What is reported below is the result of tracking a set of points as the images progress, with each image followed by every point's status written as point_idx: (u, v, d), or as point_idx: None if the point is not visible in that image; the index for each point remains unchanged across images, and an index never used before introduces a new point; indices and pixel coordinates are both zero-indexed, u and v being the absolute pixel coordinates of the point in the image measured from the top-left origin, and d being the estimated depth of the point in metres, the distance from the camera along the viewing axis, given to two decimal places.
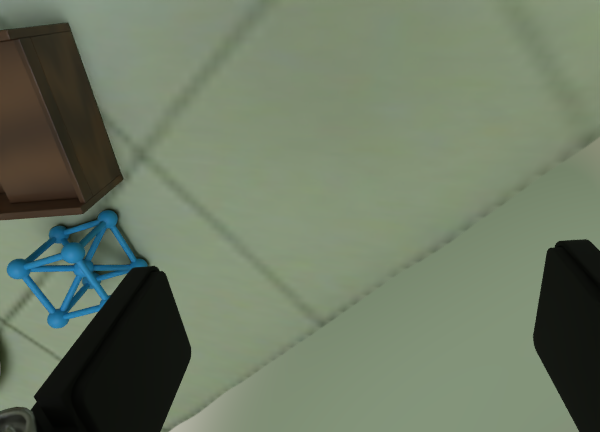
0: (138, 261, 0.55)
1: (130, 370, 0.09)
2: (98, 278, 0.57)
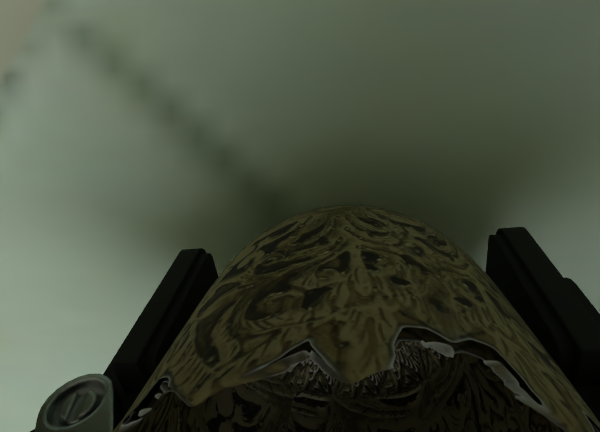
0: None
1: None
2: None
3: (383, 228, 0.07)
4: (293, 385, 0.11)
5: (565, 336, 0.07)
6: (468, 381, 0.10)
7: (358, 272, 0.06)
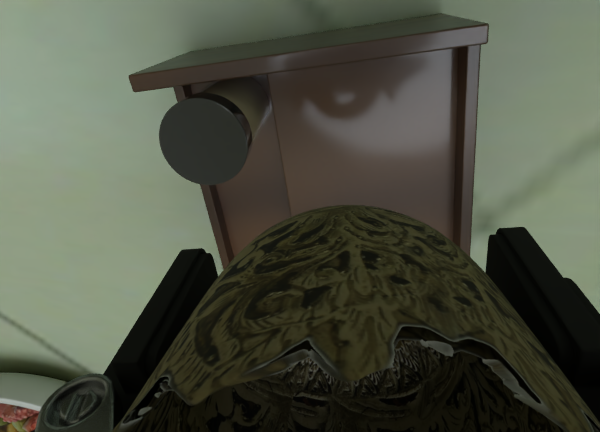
0: None
1: None
2: None
3: (383, 228, 0.07)
4: (293, 385, 0.11)
5: (566, 336, 0.07)
6: (468, 381, 0.10)
7: (358, 271, 0.06)
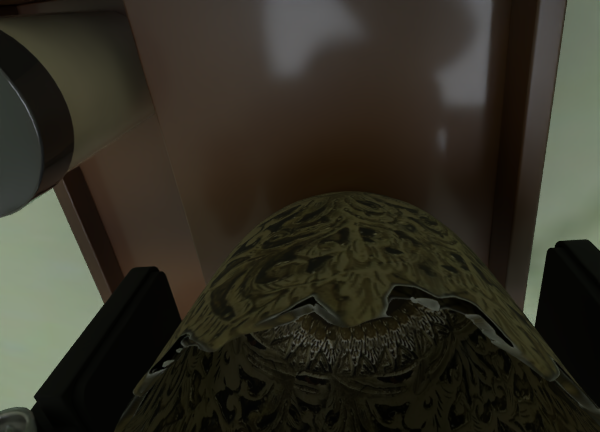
0: None
1: (130, 370, 0.09)
2: None
3: (379, 209, 0.08)
4: (295, 364, 0.12)
5: None
6: (460, 357, 0.10)
7: (356, 243, 0.06)
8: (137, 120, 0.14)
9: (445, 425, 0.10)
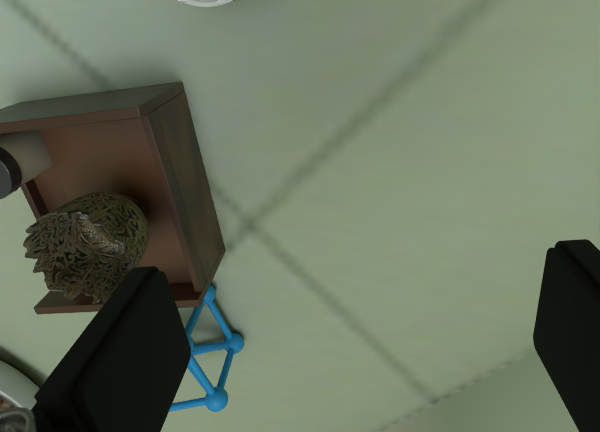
0: (234, 337, 0.49)
1: (130, 370, 0.09)
2: None
3: (97, 196, 0.30)
4: (102, 251, 0.34)
5: None
6: None
7: (78, 203, 0.29)
8: (51, 164, 0.36)
9: None
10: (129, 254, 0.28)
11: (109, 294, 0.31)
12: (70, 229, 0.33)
